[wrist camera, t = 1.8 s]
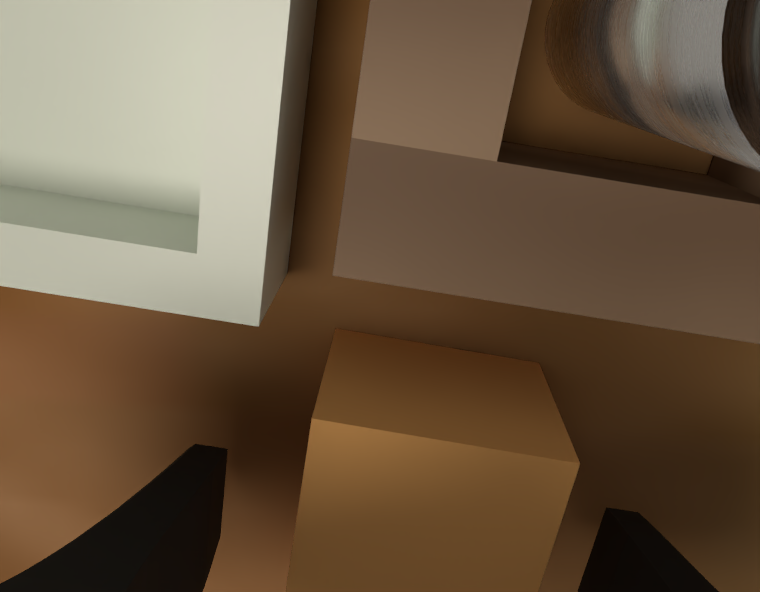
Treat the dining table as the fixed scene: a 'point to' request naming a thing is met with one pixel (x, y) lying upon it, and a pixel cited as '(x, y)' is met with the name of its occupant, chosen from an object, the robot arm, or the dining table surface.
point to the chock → (429, 472)
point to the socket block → (527, 191)
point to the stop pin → (665, 68)
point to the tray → (152, 150)
